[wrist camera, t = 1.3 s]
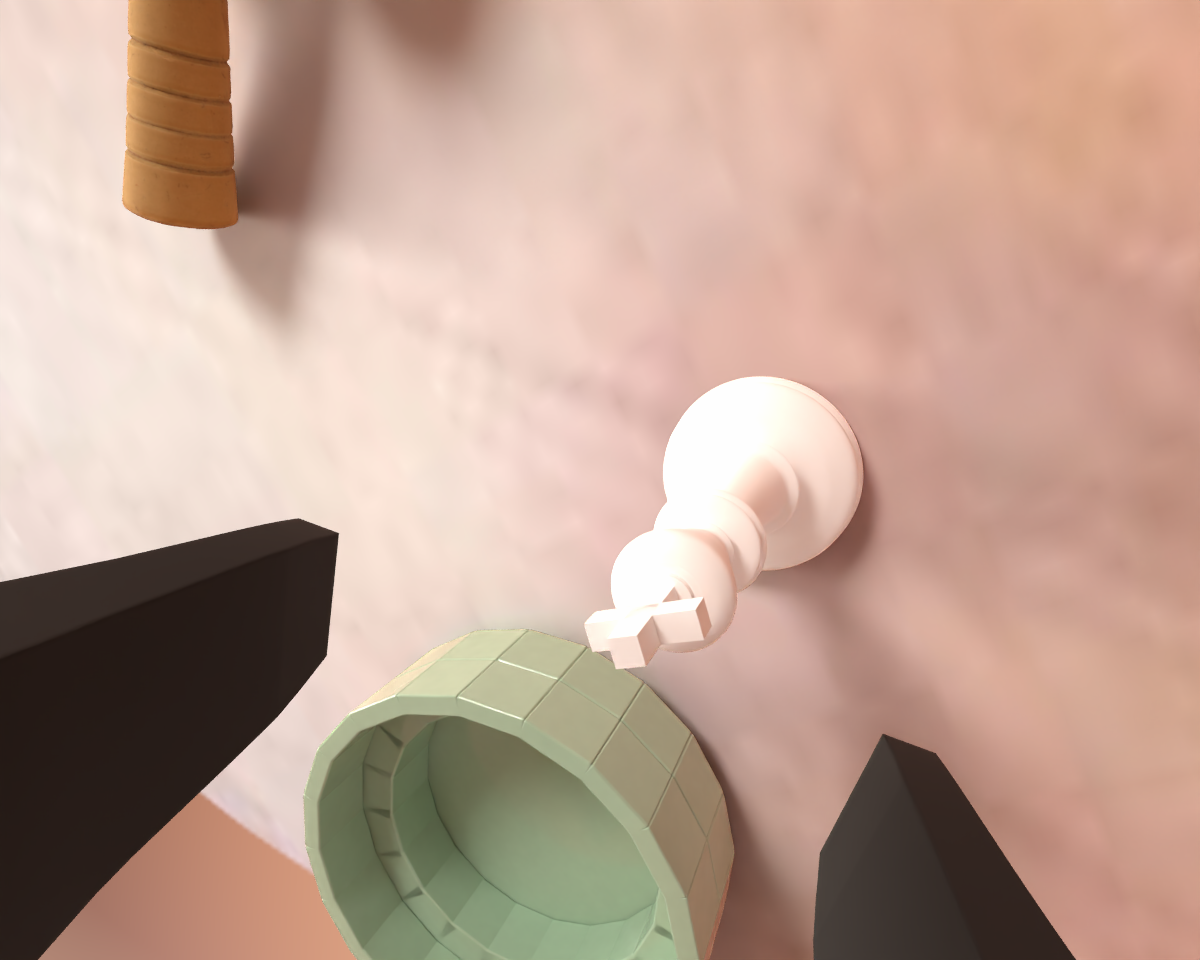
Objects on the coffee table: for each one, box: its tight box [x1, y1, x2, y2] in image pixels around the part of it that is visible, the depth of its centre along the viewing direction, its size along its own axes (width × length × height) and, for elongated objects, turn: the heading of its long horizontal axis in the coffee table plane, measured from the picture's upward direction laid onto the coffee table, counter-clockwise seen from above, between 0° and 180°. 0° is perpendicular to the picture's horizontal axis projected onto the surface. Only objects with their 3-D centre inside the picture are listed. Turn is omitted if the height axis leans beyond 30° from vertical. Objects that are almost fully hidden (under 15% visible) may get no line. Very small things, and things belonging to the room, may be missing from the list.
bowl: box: [303, 629, 734, 960], centre depth 21 cm, size 12×12×4 cm
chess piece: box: [584, 377, 863, 669], centre depth 14 cm, size 5×5×10 cm
